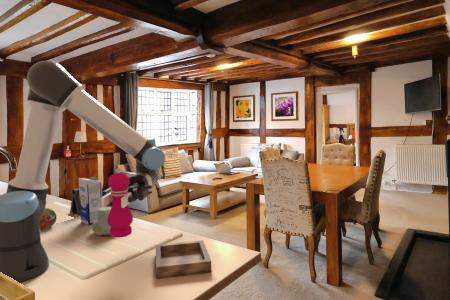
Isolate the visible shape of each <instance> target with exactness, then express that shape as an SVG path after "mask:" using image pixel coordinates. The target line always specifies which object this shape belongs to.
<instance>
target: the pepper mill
mask: <svg viewBox="0 0 450 300" xmlns="http://www.w3.org/2000/svg"><path fill="white" fill-rule="evenodd" d="M114 172H115V173H113V174H112V175H110V176H109V178H108V181H107V185H108V188H111V189H112V190H110V192H111V194H110V195H112V199H113V202H112V205H111V207H112V208H111V210H110V213H109V215H108V221H107V222H108V224H109V226H110V227H111V228H110V235H109V236H110V237H111V238H116V239H117V238H126V237H128V236H130V235H131V234H132V231H133V230H132V226H131V224H132V223H133V222H134V217H133V213H132V211H131V209H130V207H129V204H128V205H127V206H126V207H124V208H121V198H122V197H124V196H125V195H126V194H128V189H127V187H128V186H129V183H130V181H129V178H130V177H129V176H128V175H127V174H125V173H123V171H122V168H120V167H117V168H115V171H114Z"/></svg>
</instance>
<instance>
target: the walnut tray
mask: <svg viewBox="0 0 450 300" xmlns="http://www.w3.org/2000/svg"><path fill="white" fill-rule="evenodd" d="M155 272H156V273H155V275H156V278H155V279H165V278H167V279H168V278H175V277H183V276H184V277H185V276H191V275H200V274H206V273H212V260H211V257H210V254H209V252H208V249H207V247H206V244H205V242H204V240H192V241H181V242H170V243H160V244H155Z"/></svg>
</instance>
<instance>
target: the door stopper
mask: <svg viewBox="0 0 450 300" xmlns="http://www.w3.org/2000/svg"><path fill="white" fill-rule="evenodd" d="M69 213H71V214H74V215H77V216H79V217H81V210H80V194H79V187H78V188H72V190H71V202H70V209H69Z"/></svg>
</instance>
